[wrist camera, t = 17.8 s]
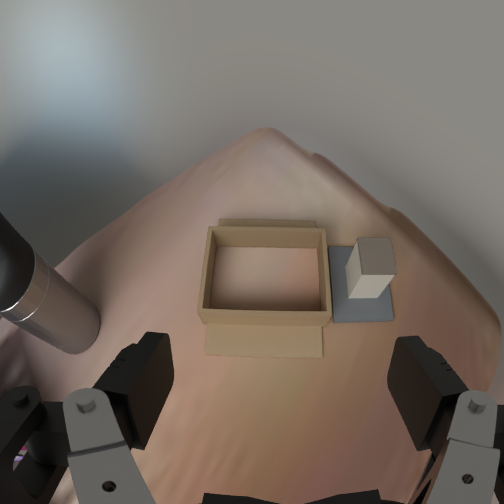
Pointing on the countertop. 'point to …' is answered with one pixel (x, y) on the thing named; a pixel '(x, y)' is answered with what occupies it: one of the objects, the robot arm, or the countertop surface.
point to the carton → (265, 322)
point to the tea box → (370, 267)
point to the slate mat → (354, 307)
